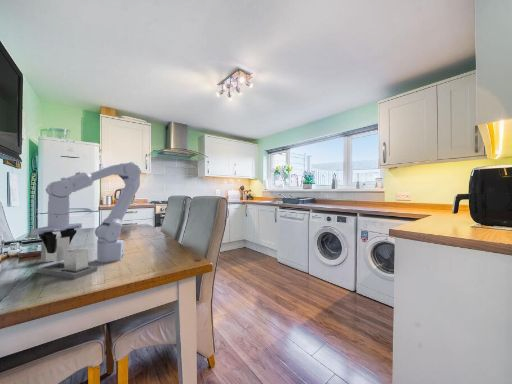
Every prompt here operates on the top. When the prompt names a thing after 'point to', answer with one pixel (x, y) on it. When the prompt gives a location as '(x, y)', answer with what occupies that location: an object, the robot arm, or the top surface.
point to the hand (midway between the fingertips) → (58, 251)
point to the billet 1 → (59, 249)
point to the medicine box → (43, 253)
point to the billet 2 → (75, 260)
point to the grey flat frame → (58, 270)
